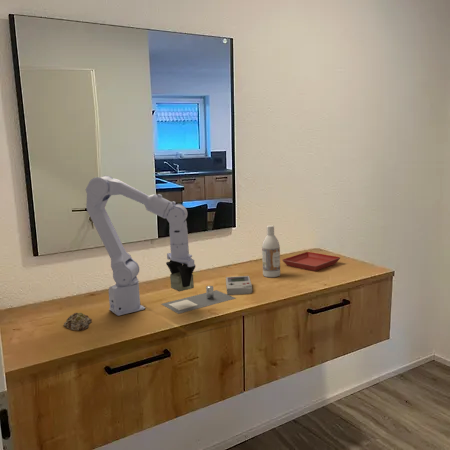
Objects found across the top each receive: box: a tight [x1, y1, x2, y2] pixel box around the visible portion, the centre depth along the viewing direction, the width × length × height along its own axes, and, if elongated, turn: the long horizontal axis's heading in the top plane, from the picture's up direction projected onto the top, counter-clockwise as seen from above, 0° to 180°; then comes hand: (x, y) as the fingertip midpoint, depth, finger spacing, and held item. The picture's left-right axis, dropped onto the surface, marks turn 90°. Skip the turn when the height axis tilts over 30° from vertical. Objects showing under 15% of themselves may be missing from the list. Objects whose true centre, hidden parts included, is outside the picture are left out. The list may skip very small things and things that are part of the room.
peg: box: [205, 285, 214, 299], centre depth 153 cm, size 2×2×4 cm
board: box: [161, 289, 237, 315], centre depth 151 cm, size 22×12×1 cm, turn 125°
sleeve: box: [169, 272, 195, 292], centre depth 147 cm, size 5×5×4 cm
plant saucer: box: [282, 251, 341, 272], centre depth 195 cm, size 18×18×3 cm
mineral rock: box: [63, 312, 93, 331], centre depth 137 cm, size 11×4×8 cm
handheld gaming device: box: [225, 275, 253, 296], centre depth 164 cm, size 9×15×4 cm, turn 2°
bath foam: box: [261, 224, 281, 278], centre depth 180 cm, size 7×7×20 cm
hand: (181, 284), depth 147 cm, fingers closed on sleeve, 5 cm apart
